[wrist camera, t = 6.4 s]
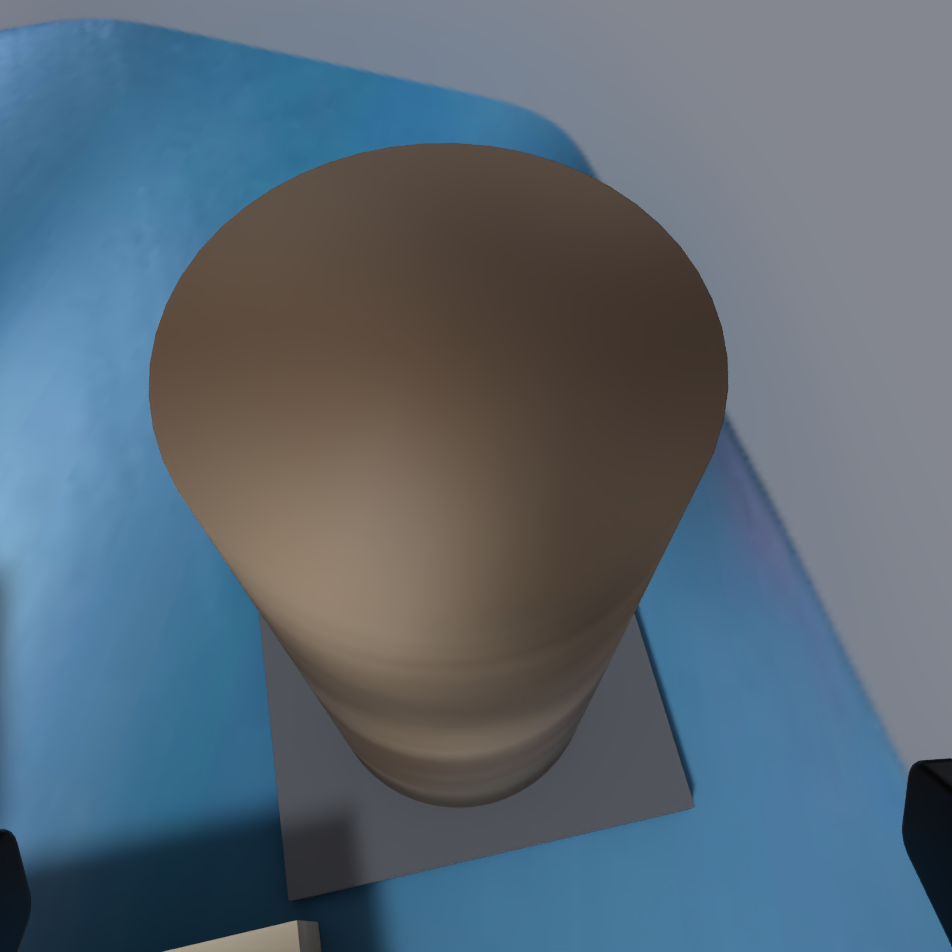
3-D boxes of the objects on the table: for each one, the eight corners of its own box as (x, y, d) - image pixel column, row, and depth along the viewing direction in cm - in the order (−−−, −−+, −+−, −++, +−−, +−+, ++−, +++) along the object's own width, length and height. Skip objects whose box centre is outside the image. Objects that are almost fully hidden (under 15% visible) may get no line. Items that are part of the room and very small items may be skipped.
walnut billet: (616, 775, 20) (820, 549, 8) (352, 835, 19) (161, 683, 7) (550, 535, 22) (631, 111, 11) (317, 581, 22) (139, 184, 10)
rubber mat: (690, 808, 20) (695, 806, 19) (292, 901, 19) (288, 901, 18) (584, 465, 24) (586, 458, 23) (253, 528, 23) (250, 522, 22)
